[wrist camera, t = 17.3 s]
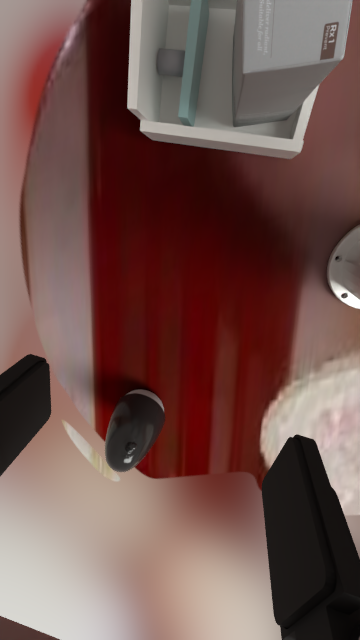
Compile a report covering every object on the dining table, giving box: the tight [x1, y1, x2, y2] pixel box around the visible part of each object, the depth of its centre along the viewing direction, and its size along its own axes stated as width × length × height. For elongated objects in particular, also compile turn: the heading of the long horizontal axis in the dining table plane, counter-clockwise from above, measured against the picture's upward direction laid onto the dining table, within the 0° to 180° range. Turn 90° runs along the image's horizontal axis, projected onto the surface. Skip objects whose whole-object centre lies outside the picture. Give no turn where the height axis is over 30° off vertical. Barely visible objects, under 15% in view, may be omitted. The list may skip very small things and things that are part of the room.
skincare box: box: [232, 0, 353, 127], centre depth 21 cm, size 8×7×16 cm
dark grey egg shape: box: [105, 389, 165, 472], centre depth 47 cm, size 10×10×15 cm
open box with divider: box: [127, 0, 319, 159], centre depth 25 cm, size 18×13×9 cm
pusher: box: [157, 0, 209, 127], centre depth 27 cm, size 4×10×5 cm, turn 172°
